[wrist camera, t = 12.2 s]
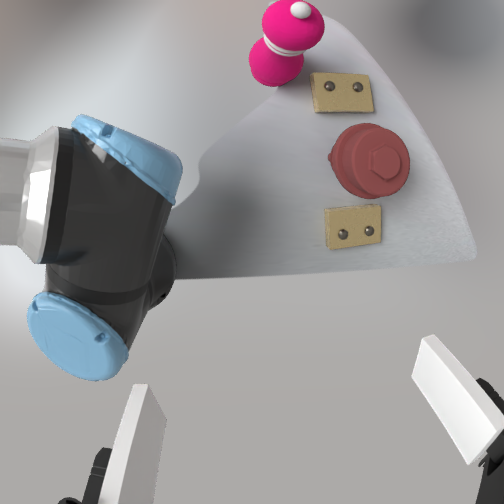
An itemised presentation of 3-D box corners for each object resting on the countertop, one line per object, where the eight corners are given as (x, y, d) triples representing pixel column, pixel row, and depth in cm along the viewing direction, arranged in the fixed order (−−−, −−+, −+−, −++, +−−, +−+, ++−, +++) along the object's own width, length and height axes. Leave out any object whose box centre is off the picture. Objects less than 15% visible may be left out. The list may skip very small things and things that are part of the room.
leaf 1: (326, 245, 44) (330, 250, 42) (324, 209, 42) (329, 212, 40) (375, 238, 45) (381, 242, 42) (375, 203, 43) (381, 206, 40)
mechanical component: (357, 117, 38) (384, 173, 41) (305, 145, 39) (335, 202, 42) (399, 108, 26) (429, 182, 29) (333, 141, 27) (371, 220, 31)
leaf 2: (315, 112, 37) (319, 110, 35) (309, 75, 35) (313, 71, 33) (368, 112, 38) (374, 111, 35) (362, 77, 36) (368, 74, 33)
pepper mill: (249, 45, 33) (262, -28, 14) (297, 51, 34) (343, -12, 15) (245, 87, 36) (255, 31, 17) (294, 93, 36) (344, 47, 17)
